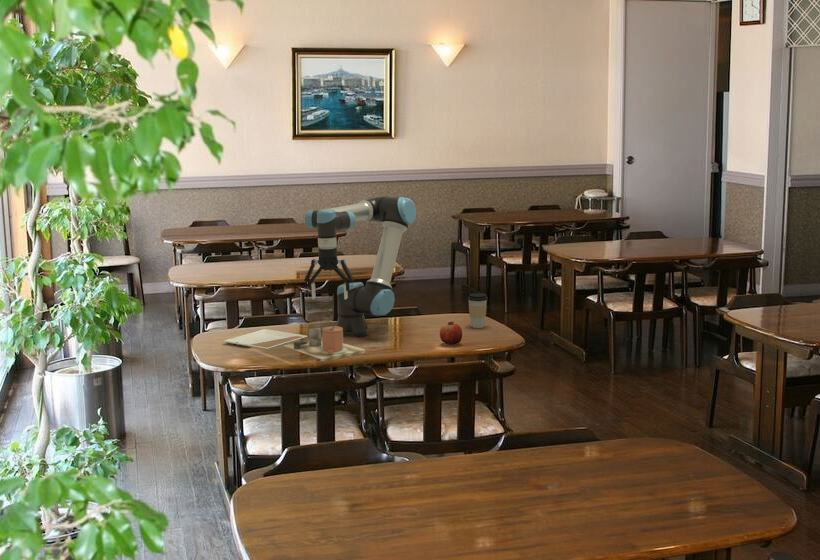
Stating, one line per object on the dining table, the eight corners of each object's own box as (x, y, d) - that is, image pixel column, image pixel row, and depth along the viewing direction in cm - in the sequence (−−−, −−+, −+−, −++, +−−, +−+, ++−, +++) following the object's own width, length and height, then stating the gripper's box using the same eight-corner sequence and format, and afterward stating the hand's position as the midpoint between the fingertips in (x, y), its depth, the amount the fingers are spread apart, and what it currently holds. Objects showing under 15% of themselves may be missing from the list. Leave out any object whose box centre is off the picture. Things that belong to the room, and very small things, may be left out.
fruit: (458, 348, 411) (458, 325, 409) (436, 346, 415) (436, 323, 413) (466, 342, 421) (466, 319, 419) (444, 341, 424) (443, 318, 423)
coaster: (337, 346, 413) (337, 345, 413) (352, 351, 405) (352, 349, 404) (315, 351, 406) (315, 349, 406) (330, 356, 398) (330, 354, 398)
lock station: (325, 340, 430) (324, 321, 429) (365, 352, 407) (365, 333, 406) (281, 348, 417) (281, 329, 415) (321, 361, 393) (320, 342, 392)
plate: (264, 333, 447) (264, 328, 447) (308, 340, 432) (308, 335, 432) (223, 345, 426) (222, 340, 426) (267, 352, 411) (267, 348, 411)
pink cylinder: (326, 345, 412) (325, 323, 411) (346, 345, 412) (345, 324, 410) (319, 353, 399) (319, 331, 398) (340, 354, 398) (339, 331, 397)
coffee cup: (474, 323, 456) (474, 292, 454) (492, 326, 451) (491, 294, 448) (463, 327, 449) (463, 295, 446) (481, 330, 443) (481, 297, 441)
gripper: (295, 249, 399) (298, 300, 403) (355, 249, 395) (357, 300, 399) (300, 246, 406) (303, 296, 410) (359, 246, 402) (361, 296, 406)
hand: (329, 298), depth 405 cm, fingers open, 13 cm apart
